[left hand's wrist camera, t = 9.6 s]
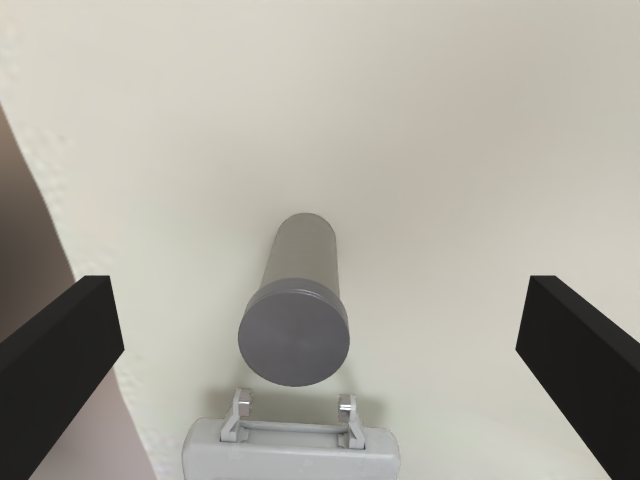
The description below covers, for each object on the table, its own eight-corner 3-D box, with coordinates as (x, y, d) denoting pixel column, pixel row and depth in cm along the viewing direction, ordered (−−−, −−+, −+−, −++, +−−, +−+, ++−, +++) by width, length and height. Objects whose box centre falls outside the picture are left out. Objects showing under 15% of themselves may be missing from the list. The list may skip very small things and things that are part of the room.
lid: (224, 303, 24) (216, 320, 22) (318, 260, 23) (318, 273, 21) (275, 381, 26) (272, 401, 24) (365, 344, 25) (368, 362, 23)
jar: (265, 228, 38) (228, 318, 23) (319, 202, 37) (315, 279, 22) (293, 277, 39) (275, 389, 25) (345, 253, 38) (358, 355, 24)
